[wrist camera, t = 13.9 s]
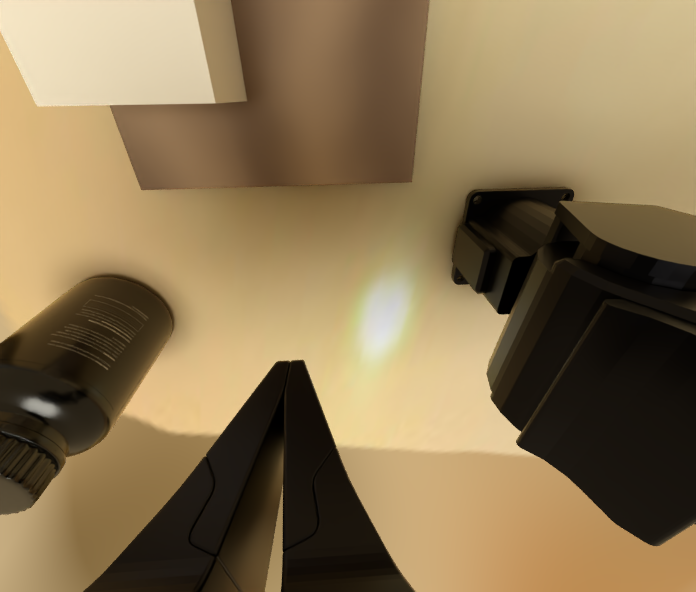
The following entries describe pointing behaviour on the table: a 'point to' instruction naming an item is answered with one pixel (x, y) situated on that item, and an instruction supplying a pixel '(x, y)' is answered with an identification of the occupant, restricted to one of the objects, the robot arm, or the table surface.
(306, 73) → the base plate
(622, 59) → the table surface
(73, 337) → the supplement bottle
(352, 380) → the table surface
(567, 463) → the robot arm
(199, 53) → the white carton
